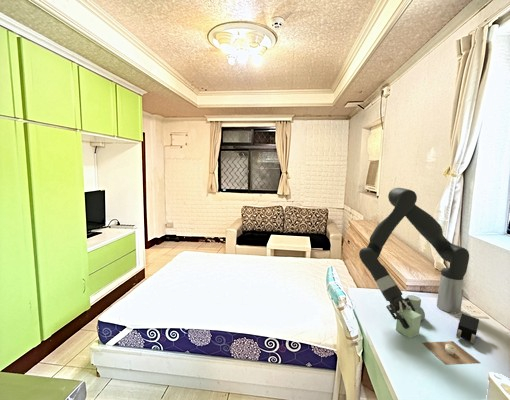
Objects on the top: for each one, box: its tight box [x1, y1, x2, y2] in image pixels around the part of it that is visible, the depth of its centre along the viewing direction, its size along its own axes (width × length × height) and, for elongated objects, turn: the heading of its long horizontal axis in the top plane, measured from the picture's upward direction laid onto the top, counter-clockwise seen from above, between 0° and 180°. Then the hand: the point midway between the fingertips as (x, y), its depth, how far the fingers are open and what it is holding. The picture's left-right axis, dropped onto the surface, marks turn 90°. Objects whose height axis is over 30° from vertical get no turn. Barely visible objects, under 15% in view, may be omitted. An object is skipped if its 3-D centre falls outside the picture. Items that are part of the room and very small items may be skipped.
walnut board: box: [421, 340, 481, 366], centre depth 102 cm, size 14×12×1 cm
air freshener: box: [406, 294, 426, 321], centre depth 126 cm, size 11×8×10 cm
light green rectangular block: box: [395, 308, 422, 339], centre depth 113 cm, size 6×6×9 cm
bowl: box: [445, 344, 455, 355], centre depth 101 cm, size 3×3×2 cm
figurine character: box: [455, 313, 480, 345], centre depth 112 cm, size 7×8×15 cm
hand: (412, 325), depth 112 cm, fingers closed on light green rectangular block, 6 cm apart
